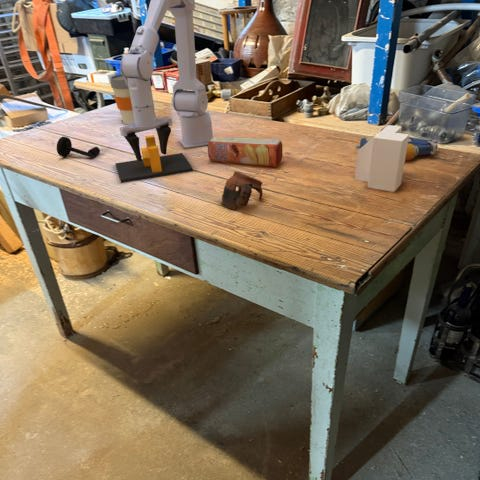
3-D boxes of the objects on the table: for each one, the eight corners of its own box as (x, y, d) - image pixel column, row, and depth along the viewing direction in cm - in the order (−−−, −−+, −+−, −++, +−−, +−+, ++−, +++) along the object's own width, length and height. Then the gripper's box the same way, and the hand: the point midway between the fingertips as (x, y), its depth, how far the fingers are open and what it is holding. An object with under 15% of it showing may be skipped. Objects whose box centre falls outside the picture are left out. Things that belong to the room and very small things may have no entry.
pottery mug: (215, 200, 116) (227, 167, 114) (250, 213, 119) (262, 181, 117) (223, 207, 105) (236, 171, 103) (261, 221, 108) (275, 186, 106)
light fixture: (110, 155, 153) (87, 168, 143) (82, 146, 154) (57, 158, 145) (110, 136, 149) (86, 149, 139) (80, 128, 151) (55, 139, 141)
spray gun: (418, 168, 124) (441, 153, 132) (420, 152, 121) (444, 137, 130) (348, 155, 135) (374, 142, 144) (349, 140, 133) (375, 128, 142)
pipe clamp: (142, 159, 139) (138, 137, 135) (157, 157, 140) (153, 135, 136) (146, 173, 130) (142, 150, 126) (162, 171, 130) (158, 147, 126)
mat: (182, 155, 142) (182, 152, 142) (193, 170, 132) (192, 168, 131) (115, 165, 138) (115, 163, 138) (121, 182, 127) (120, 179, 127)
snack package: (207, 163, 136) (204, 139, 132) (216, 155, 141) (214, 132, 136) (276, 169, 129) (276, 144, 125) (284, 161, 134) (284, 137, 129)
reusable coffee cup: (149, 125, 170) (142, 79, 161) (115, 126, 170) (105, 81, 161) (154, 115, 180) (148, 71, 171) (122, 117, 180) (113, 73, 171)
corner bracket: (394, 192, 113) (402, 141, 106) (349, 184, 119) (354, 135, 111) (407, 176, 120) (415, 128, 113) (364, 169, 125) (370, 123, 118)
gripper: (161, 97, 130) (168, 147, 138) (111, 107, 124) (122, 159, 132) (172, 102, 125) (179, 153, 134) (121, 113, 119) (132, 165, 128)
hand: (151, 156), depth 133 cm, fingers open, 7 cm apart
